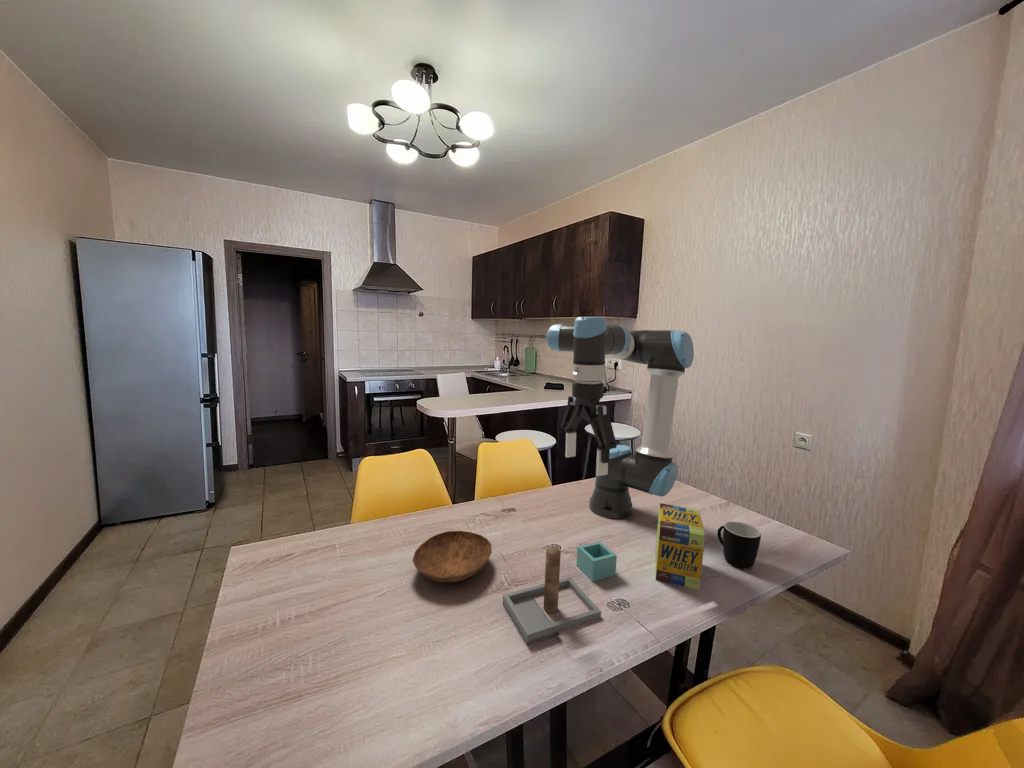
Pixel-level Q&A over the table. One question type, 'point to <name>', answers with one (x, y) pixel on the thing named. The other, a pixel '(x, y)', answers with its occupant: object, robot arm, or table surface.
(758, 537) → the mug
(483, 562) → the bowl
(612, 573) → the teal square container
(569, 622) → the tray
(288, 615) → the table surface
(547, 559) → the dowel
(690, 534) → the protein box
